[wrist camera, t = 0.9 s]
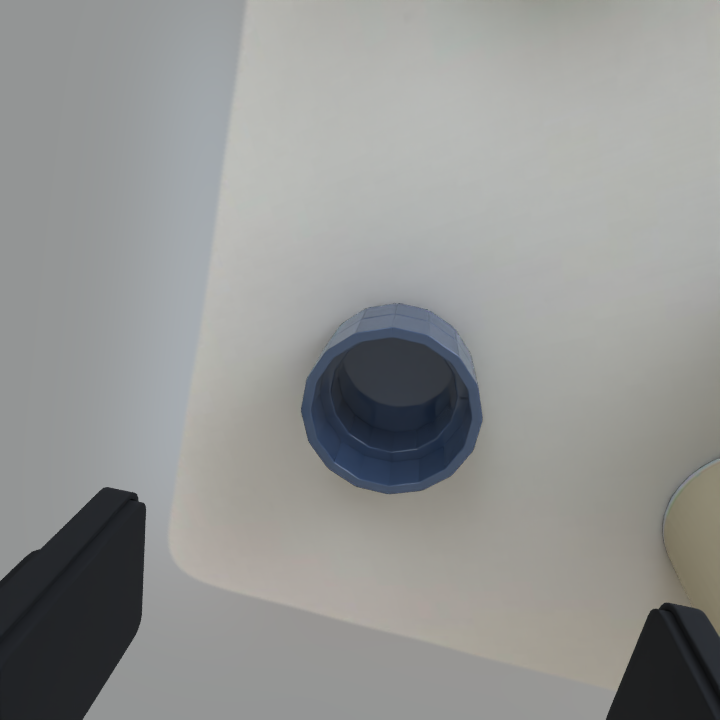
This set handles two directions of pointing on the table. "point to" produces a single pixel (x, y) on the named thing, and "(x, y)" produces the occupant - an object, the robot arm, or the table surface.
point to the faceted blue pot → (393, 400)
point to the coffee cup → (697, 539)
